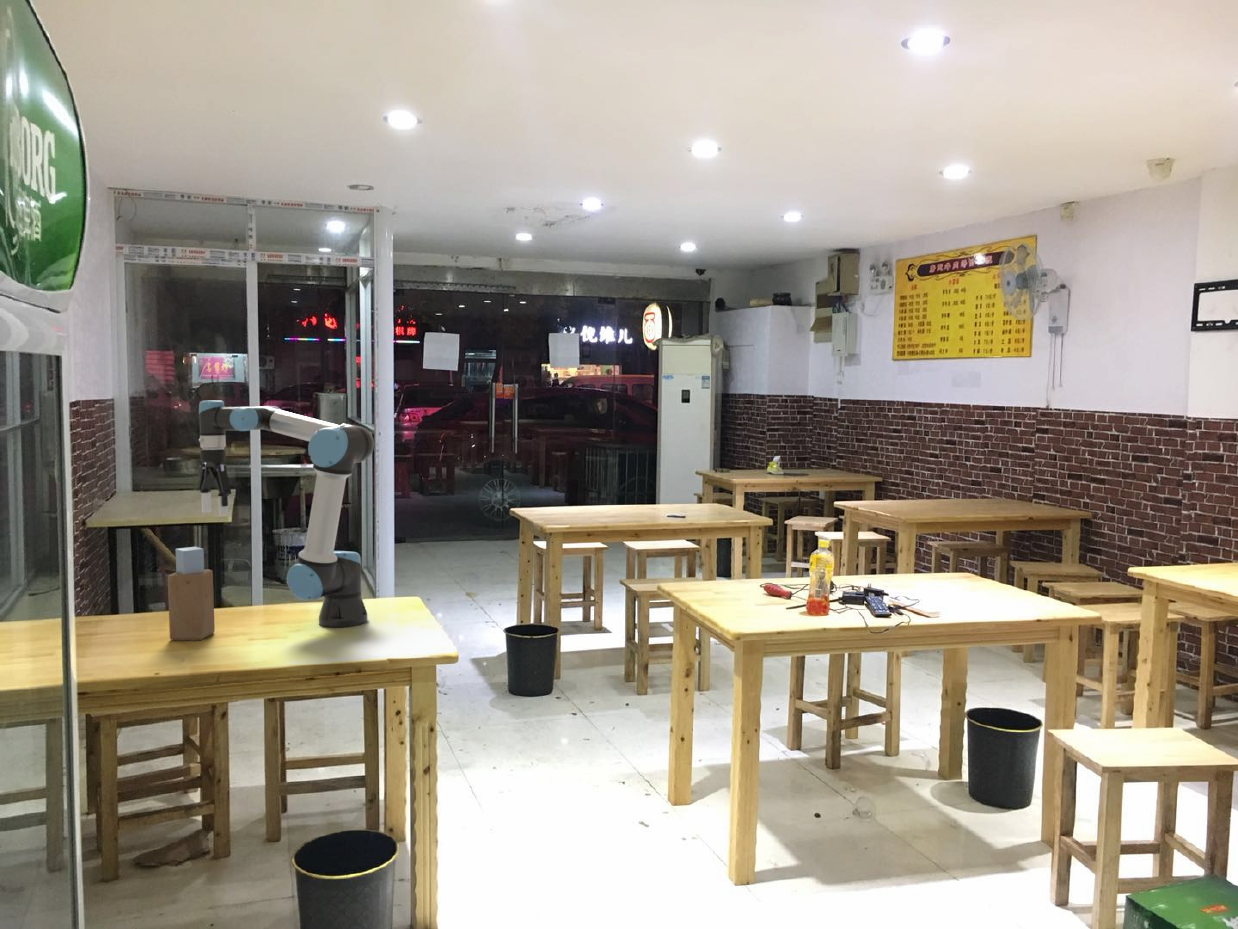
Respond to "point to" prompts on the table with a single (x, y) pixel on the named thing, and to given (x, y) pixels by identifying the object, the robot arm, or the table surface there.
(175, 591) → the wooden block
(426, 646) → the table surface
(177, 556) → the slate block
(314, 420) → the robot arm
